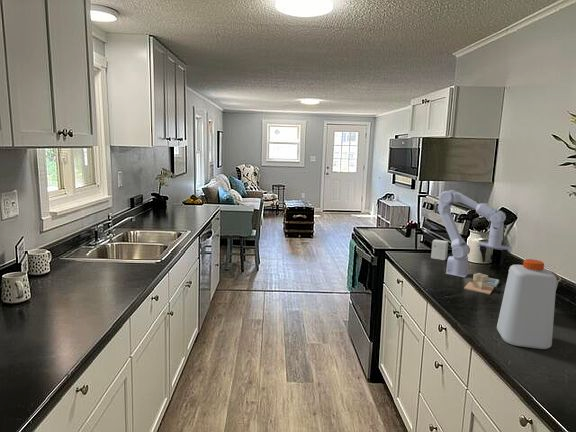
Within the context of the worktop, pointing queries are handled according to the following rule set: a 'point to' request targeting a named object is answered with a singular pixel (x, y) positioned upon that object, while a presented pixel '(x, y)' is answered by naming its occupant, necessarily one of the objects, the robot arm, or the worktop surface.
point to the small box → (439, 249)
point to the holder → (492, 281)
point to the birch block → (480, 281)
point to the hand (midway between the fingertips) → (492, 263)
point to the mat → (486, 290)
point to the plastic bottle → (528, 306)
